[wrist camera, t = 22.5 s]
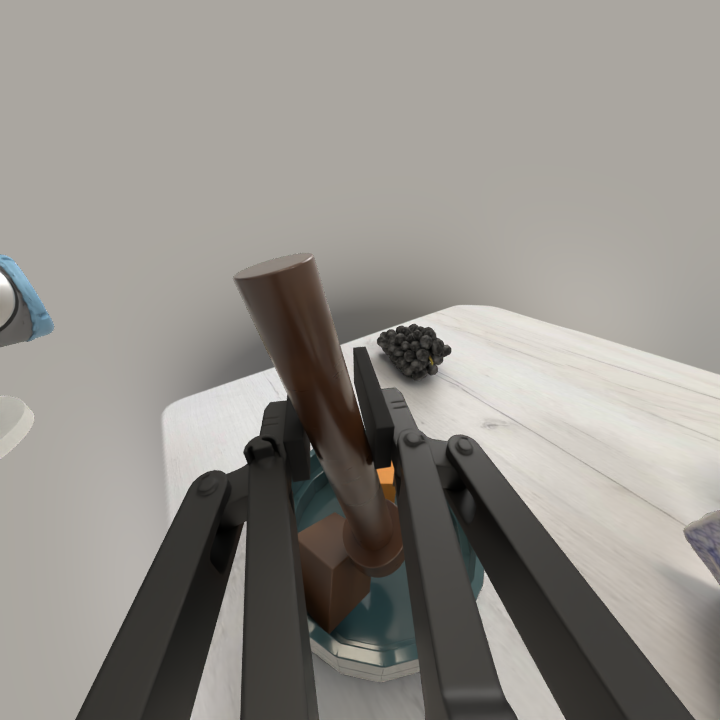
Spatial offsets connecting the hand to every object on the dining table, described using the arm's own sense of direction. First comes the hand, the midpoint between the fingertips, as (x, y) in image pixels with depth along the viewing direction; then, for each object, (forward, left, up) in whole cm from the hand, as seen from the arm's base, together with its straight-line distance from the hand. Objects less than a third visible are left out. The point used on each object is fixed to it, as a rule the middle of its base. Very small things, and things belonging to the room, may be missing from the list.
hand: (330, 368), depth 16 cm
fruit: (+14, +24, -17) cm, 33 cm away
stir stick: (+2, -6, -10) cm, 11 cm away
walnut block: (0, -5, -13) cm, 14 cm away
